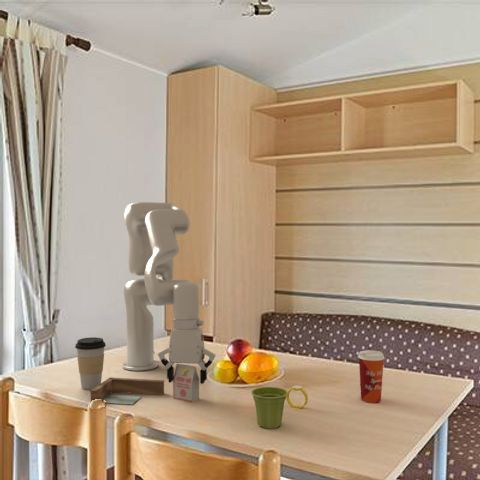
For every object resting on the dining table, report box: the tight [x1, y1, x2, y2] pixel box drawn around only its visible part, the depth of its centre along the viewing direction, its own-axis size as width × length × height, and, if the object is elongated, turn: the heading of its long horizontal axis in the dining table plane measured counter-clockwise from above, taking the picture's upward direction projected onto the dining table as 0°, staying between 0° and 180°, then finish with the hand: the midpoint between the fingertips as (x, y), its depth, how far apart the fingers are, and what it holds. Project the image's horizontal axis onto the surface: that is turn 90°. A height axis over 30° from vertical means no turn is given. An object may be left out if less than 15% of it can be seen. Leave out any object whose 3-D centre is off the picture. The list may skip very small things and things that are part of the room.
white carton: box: [172, 363, 200, 403], centre depth 167 cm, size 4×7×10 cm, turn 59°
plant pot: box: [251, 386, 288, 430], centre depth 146 cm, size 9×9×9 cm
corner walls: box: [90, 377, 165, 406], centre depth 167 cm, size 14×18×4 cm
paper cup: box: [357, 349, 385, 404], centre depth 165 cm, size 8×8×14 cm
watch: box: [285, 385, 309, 410], centre depth 159 cm, size 6×3×6 cm, turn 66°
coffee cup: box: [74, 336, 106, 391], centre depth 179 cm, size 9×9×15 cm
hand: (186, 381), depth 167 cm, fingers open, 9 cm apart
